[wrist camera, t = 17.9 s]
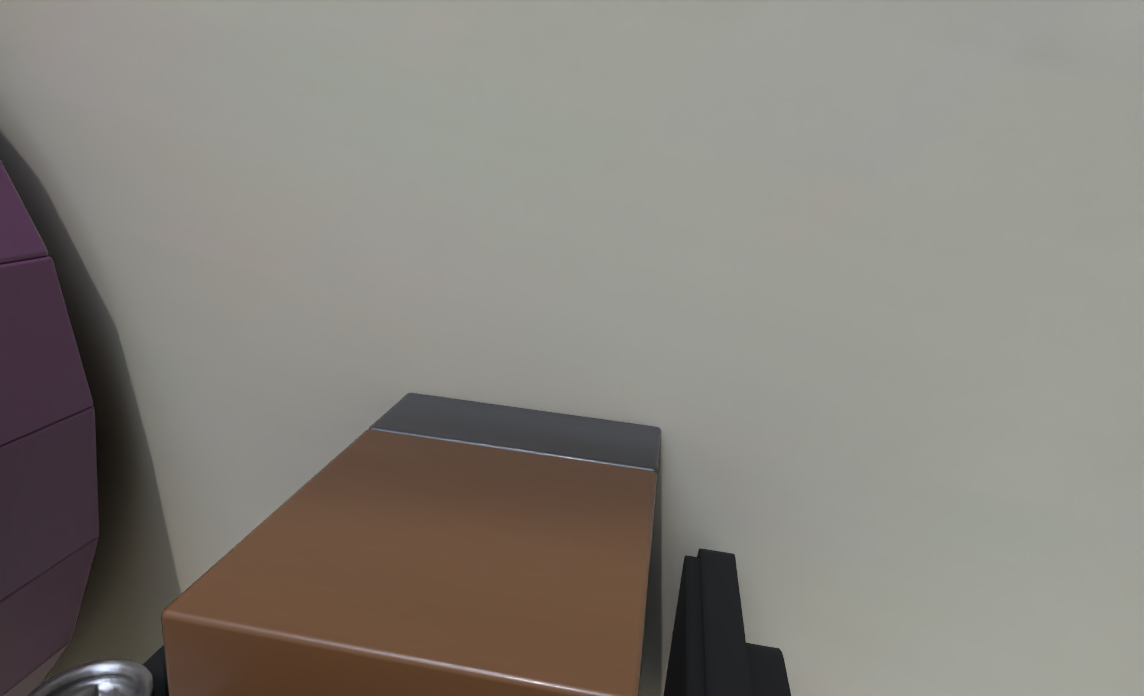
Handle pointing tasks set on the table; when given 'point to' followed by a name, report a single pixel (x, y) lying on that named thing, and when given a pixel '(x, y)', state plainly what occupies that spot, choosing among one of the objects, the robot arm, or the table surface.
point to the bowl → (40, 458)
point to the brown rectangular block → (438, 565)
